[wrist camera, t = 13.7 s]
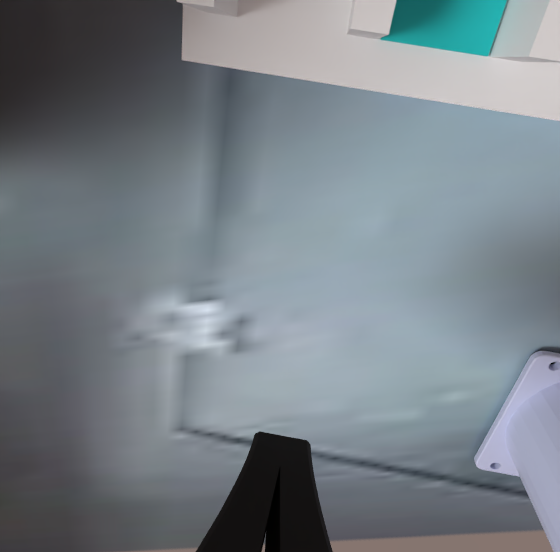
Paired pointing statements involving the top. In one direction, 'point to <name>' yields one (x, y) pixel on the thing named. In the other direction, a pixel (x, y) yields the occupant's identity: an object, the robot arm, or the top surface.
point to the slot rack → (392, 47)
